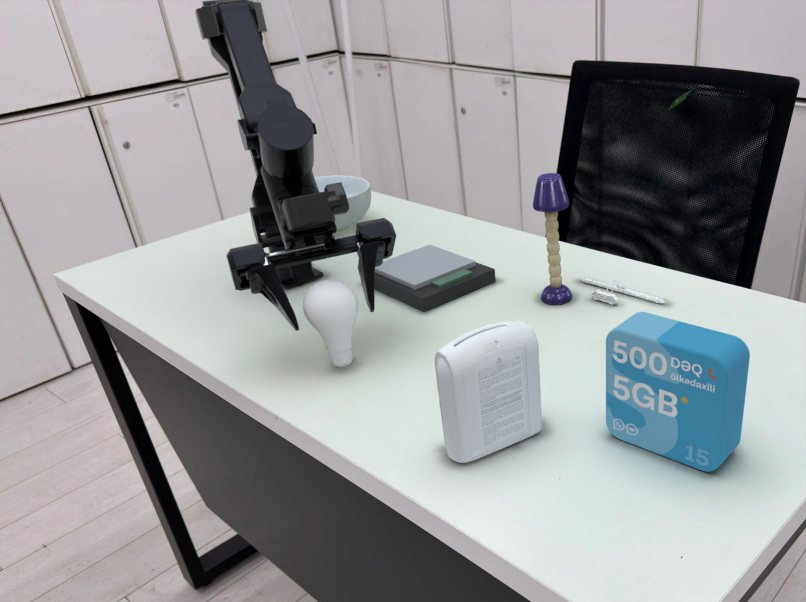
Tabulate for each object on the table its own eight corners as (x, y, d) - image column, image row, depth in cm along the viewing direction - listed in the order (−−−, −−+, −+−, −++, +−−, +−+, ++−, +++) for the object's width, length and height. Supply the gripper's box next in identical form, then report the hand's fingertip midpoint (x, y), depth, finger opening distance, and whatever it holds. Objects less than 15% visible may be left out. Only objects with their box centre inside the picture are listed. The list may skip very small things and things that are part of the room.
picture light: (666, 303, 98) (667, 288, 97) (647, 315, 95) (648, 300, 94) (581, 280, 106) (581, 266, 105) (562, 290, 103) (561, 276, 102)
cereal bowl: (289, 250, 125) (280, 209, 121) (273, 223, 138) (264, 185, 134) (387, 230, 130) (380, 190, 126) (362, 206, 143) (356, 169, 140)
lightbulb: (325, 384, 85) (305, 297, 80) (312, 363, 90) (292, 278, 84) (376, 369, 88) (360, 283, 82) (360, 349, 92) (344, 266, 87)
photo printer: (525, 413, 78) (518, 305, 71) (549, 431, 74) (544, 320, 68) (438, 449, 73) (422, 338, 67) (460, 471, 70) (445, 355, 63)
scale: (363, 284, 110) (360, 266, 109) (432, 257, 117) (430, 240, 116) (424, 312, 100) (421, 293, 99) (496, 281, 108) (494, 263, 106)
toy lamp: (532, 301, 101) (524, 179, 92) (546, 288, 104) (540, 169, 96) (564, 306, 99) (560, 182, 90) (578, 293, 102) (575, 171, 94)
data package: (604, 434, 73) (604, 325, 67) (629, 413, 76) (631, 307, 70) (717, 478, 66) (729, 361, 60) (739, 453, 69) (752, 339, 63)
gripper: (204, 176, 77) (245, 312, 74) (378, 147, 83) (423, 271, 80) (216, 228, 87) (253, 350, 84) (371, 199, 93) (410, 311, 90)
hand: (335, 319), depth 84 cm, fingers open, 8 cm apart
